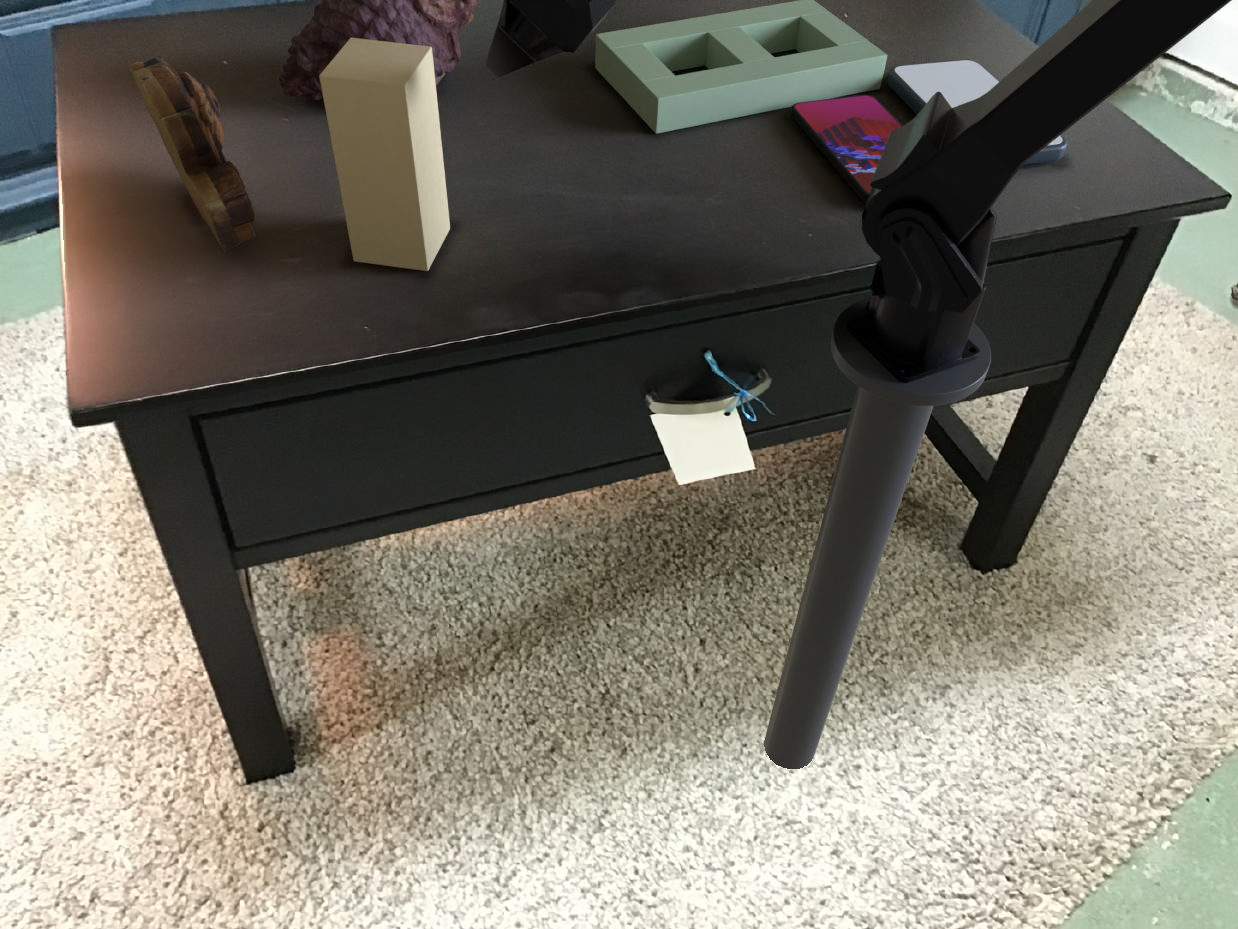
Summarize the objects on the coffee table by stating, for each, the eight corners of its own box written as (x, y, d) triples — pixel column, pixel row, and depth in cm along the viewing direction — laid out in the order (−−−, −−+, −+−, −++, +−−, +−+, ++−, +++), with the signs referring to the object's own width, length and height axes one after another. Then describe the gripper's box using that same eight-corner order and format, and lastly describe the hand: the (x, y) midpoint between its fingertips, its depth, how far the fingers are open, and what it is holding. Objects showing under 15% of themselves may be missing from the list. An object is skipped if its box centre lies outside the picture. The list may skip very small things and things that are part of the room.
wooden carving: (292, 255, 70) (259, 117, 63) (226, 278, 68) (184, 138, 61) (203, 149, 79) (166, 18, 72) (143, 166, 77) (98, 33, 70)
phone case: (879, 83, 90) (967, 175, 80) (883, 65, 89) (972, 156, 78) (971, 74, 92) (1069, 163, 81) (976, 56, 91) (1076, 144, 80)
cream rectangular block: (450, 228, 73) (432, 46, 63) (428, 271, 69) (405, 85, 60) (379, 219, 73) (350, 37, 64) (353, 261, 70) (318, 75, 60)
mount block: (880, 88, 89) (887, 54, 87) (655, 134, 83) (658, 98, 81) (806, 30, 97) (811, -2, 95) (595, 68, 90) (595, 33, 88)
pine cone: (309, 144, 80) (241, 14, 76) (312, 145, 89) (251, 28, 85) (515, 49, 82) (458, -83, 78) (497, 59, 91) (446, -58, 87)
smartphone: (873, 92, 87) (963, 184, 77) (871, 103, 87) (960, 195, 77) (787, 103, 85) (868, 198, 75) (785, 113, 86) (865, 209, 76)
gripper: (627, -331, 57) (488, -108, 68) (480, -257, 45) (340, 0, 56) (768, -173, 60) (613, 17, 71) (666, -64, 48) (498, 145, 59)
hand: (524, 39), depth 64 cm, fingers open, 9 cm apart
